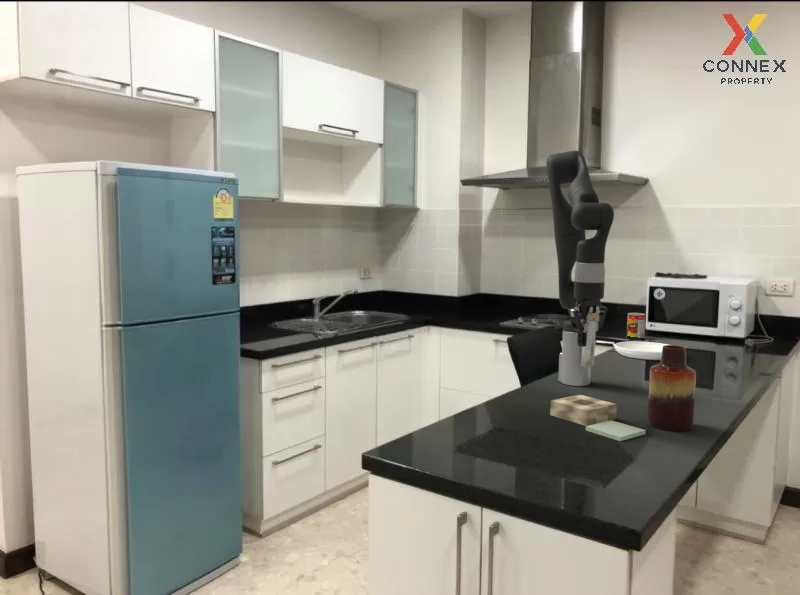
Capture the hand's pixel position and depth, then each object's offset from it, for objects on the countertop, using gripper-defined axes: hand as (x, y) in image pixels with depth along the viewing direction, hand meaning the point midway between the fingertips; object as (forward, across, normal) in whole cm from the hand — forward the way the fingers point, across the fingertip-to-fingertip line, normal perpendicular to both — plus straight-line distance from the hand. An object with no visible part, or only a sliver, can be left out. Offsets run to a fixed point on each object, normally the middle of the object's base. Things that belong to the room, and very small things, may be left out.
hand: (586, 345), depth 169 cm
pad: (+19, -4, -13) cm, 24 cm away
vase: (+20, +13, -17) cm, 29 cm away
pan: (+21, +92, +50) cm, 106 cm away
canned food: (+21, +128, +72) cm, 148 cm away
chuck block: (+19, 0, 0) cm, 19 cm away
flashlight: (+5, 0, -1) cm, 5 cm away
